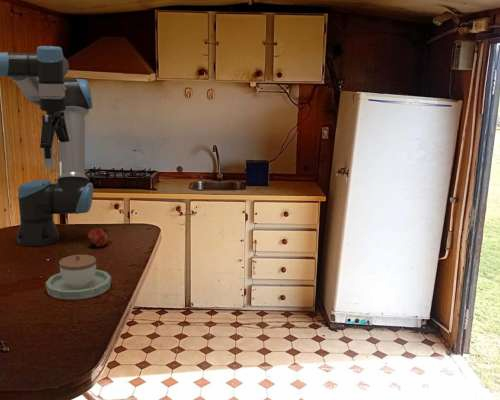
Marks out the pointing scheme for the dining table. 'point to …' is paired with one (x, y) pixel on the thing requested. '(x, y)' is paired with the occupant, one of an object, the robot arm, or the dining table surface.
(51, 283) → the rimmed tray
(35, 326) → the dining table surface
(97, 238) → the pomegranate
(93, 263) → the lidded jar
